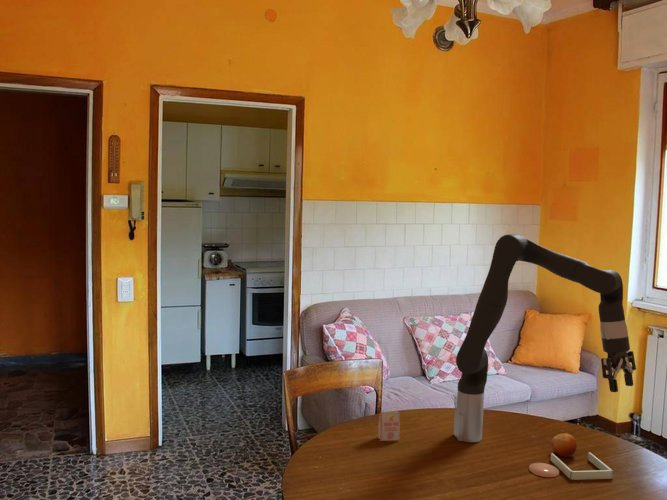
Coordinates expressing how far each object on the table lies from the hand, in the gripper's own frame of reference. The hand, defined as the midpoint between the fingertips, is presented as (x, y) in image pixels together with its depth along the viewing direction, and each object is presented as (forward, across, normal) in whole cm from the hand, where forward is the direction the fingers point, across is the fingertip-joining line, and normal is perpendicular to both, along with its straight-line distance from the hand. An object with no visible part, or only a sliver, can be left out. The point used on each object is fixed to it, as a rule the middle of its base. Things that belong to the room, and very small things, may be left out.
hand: (621, 388), depth 187 cm
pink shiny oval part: (+25, +15, -21) cm, 36 cm away
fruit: (+25, -2, -26) cm, 36 cm away
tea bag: (+15, +40, -65) cm, 78 cm away
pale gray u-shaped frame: (+26, +4, -16) cm, 31 cm away
